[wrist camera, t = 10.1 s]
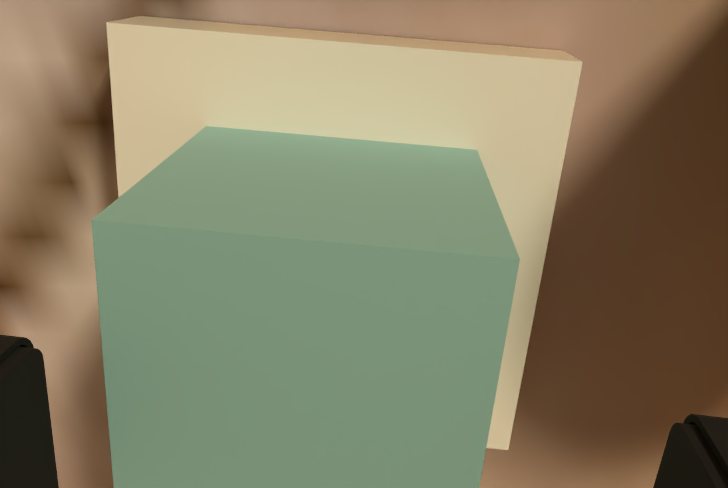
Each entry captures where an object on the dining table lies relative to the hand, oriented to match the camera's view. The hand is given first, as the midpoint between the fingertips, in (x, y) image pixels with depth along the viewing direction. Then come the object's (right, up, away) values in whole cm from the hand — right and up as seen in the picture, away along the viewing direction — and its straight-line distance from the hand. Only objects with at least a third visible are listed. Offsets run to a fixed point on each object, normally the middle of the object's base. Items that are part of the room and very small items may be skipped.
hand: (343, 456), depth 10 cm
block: (0, +3, +6) cm, 7 cm away
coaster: (0, +4, +8) cm, 9 cm away
